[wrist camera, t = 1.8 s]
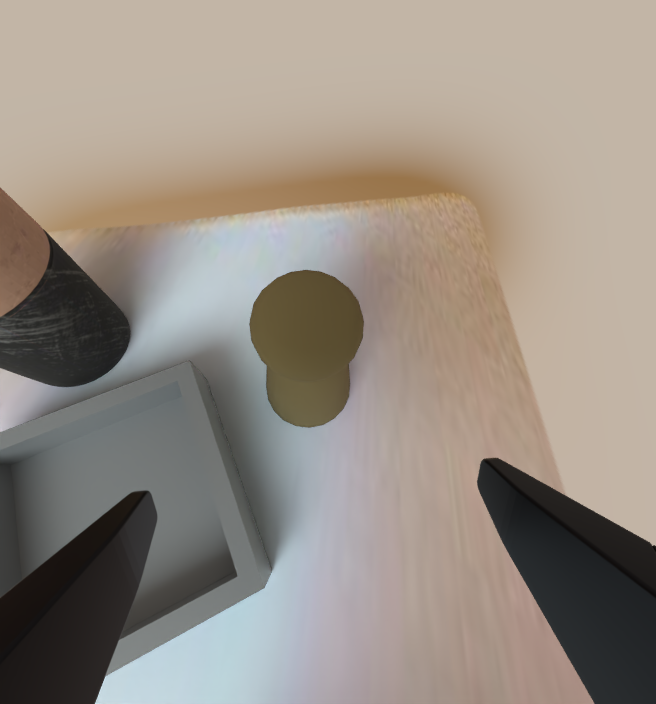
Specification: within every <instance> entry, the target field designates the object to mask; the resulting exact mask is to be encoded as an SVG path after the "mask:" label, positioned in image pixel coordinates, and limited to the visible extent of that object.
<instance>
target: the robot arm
mask: <svg viewBox="0 0 656 704" xmlns="http://www.w3.org/2000/svg"><path fill="white" fill-rule="evenodd" d="M477 485H478V489H479V492H480V494H481V496H482V498H483V501H484V503H485V505H486V507H487V509H488V512H489V514H490V516H491V518H492V520H493V523H494V525H495V527H496V529H497V531H498V534H499V536H500V538H501V540H502V542H503V544H504V546H505V548H506V549H507V551H508V553H509V555H510V557H511V558H512V560H513V562H514V564H515V565H516V567H517V569H518V571H519V572H520V574H521V576H522V578H523V579H524V581H525V583H526V585H527V586H528V588H529V590H530V592H531V593H532V595H533V597H534V599H535V600H536V602H537V604H538V606H539V607H540V609H541V611H542V613H543V614H544V616H545V618H546V619H547V621H548V623H549V625H550V626H551V628H552V630H553V632H554V633H555V635H556V637H557V639H558V640H559V642H560V644H561V646H562V647H563V649H564V651H565V653H566V654H567V656H568V658H569V660H570V661H571V663H572V665H573V667H574V668H575V670H576V672H577V674H578V675H579V677H580V679H581V681H582V682H583V684H584V686H585V688H586V689H587V691H588V693H589V695H590V696H591V698H592V700H593V702H594V703H595V704H656V546H655V545H654V546H652V545H651V543H650V542H648V541H646V540H644V539H643V538H641V537H639V536H637V535H635V534H633V533H632V532H630V531H628V530H626V529H625V528H623V527H621V526H619V525H617V524H615V523H614V522H612V521H610V520H608V519H607V518H605V517H603V516H601V515H599V514H598V513H595V512H594V511H592V510H590V509H588V508H587V507H585V506H583V505H581V504H580V503H578V502H576V501H574V500H572V499H571V498H569V497H567V496H565V495H564V494H562V493H560V492H558V491H556V490H555V489H553V488H551V487H549V486H547V485H546V484H544V483H542V482H540V481H538V480H537V479H535V478H533V477H531V476H529V475H528V474H526V473H524V472H522V471H520V470H519V469H517V468H515V467H513V466H511V465H510V464H508V463H506V462H504V461H502V460H501V459H499V458H486V459H483V460H482V461H481V464H480V469H479V475H478V480H477ZM156 524H157V511H156V507H155V504H154V501H153V498H152V494H151V492H150V491H148V490H143V491H134V492H131V493H130V494H128V495H127V496H126V497H125V498H123V499H122V500H121V501H120V502H118V503H117V504H116V505H115V506H113V507H112V508H111V509H110V510H108V511H107V512H106V513H105V514H103V515H102V516H101V517H100V518H98V519H97V520H96V521H95V522H93V523H92V524H91V525H90V526H88V527H87V528H86V529H85V530H83V531H82V532H81V533H80V534H79V535H77V536H76V537H75V538H74V539H72V540H71V541H70V542H69V543H67V544H66V545H65V546H64V547H62V548H61V549H60V550H59V551H57V552H56V553H55V554H54V555H52V556H51V557H50V558H49V559H47V560H46V561H45V562H44V563H42V564H41V565H40V566H39V567H38V568H36V569H35V570H34V571H33V572H31V573H30V574H29V575H28V576H26V577H25V578H24V579H23V580H21V581H20V582H19V583H18V584H16V585H15V586H14V587H13V588H11V589H10V590H9V591H8V592H6V593H5V594H4V595H3V596H1V597H0V704H95V702H96V699H97V697H98V694H99V691H100V689H101V686H102V683H103V681H104V678H105V676H106V673H107V670H108V668H109V665H110V662H111V660H112V657H113V655H114V652H115V649H116V647H117V644H118V641H119V639H120V636H121V634H122V631H123V628H124V626H125V623H126V620H127V618H128V615H129V612H130V610H131V607H132V605H133V602H134V599H135V597H136V594H137V591H138V588H139V585H140V582H141V579H142V575H143V572H144V568H145V564H146V561H147V557H148V553H149V550H150V546H151V542H152V539H153V535H154V531H155V528H156Z"/></svg>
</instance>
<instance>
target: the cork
mask: <svg viewBox="0 0 656 704" xmlns="http://www.w3.org/2000/svg"><path fill="white" fill-rule="evenodd" d="M249 325H250V332H251V340H252V343H253V345H254V347H255V349H256V351H257V353H258V355H259V356H260V358H261V360H262V361H263V362H264V363H265V364H266V365H267V381H266V388H267V395H268V400H269V402H270V404H271V406H272V408H273V410H274V411H275V412H276V413H277V414H278V415H279V416H280V417H281V418H282V419H283V420H284V421H287V422H289V423H291V424H293V425H295V426H301V427H315V426H320V425H324V424H325V423H327V422H329V421H331V420H332V419H334V418H335V417H336V416H337V415H338V414H339V413H340V412H341V411H342V410H343V408H344V406H345V404H346V402H347V399H348V397H349V387H350V379H349V362H350V361H351V360H352V359H353V358H354V357H355V354H356V352H357V350H358V348H359V346H360V343H361V341H362V338H363V325H364V321H363V316H362V312H361V309H360V305H359V302H358V300H357V299H356V297H355V296H354V295H353V293H352V292H351V290H350V289H349V288H348V287H347V286H345V285H344V284H343V283H341V282H340V281H339V280H338V279H336V278H335V277H333V276H330V275H328V274H325V273H323V272H319V271H310V270H302V271H295V272H290V273H287V274H285V275H283V276H280V277H278V278H276V279H275V280H274V281H273V282H272V283H270V284H269V285H268V286H267V287H266V288H264V289H263V290H262V291H261V293H260V295H259V296H258V298H257V299H256V301H255V302H254V305H253V309H252V314H251V318H250V324H249Z"/></svg>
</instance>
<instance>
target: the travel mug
mask: <svg viewBox="0 0 656 704" xmlns="http://www.w3.org/2000/svg"><path fill="white" fill-rule="evenodd" d="M129 337H130V329H129V324H128V321H127V319H126V317H125V315H124V314H123V313H122V311H121V310H120V309H119V308H118V307H117V306H116V304H115V303H114V302H113V301H112V300H111V299H110V298H109V297H108V296H107V295H106V294H105V293H104V292H103V291H102V290H101V289H100V288H99V287H98V286H97V284H96V283H95V282H94V281H93V280H92V279H91V278H90V277H89V276H88V275H87V274H86V273H85V272H84V271H83V270H82V269H81V268H80V267H79V266H78V265H77V264H76V263H75V262H74V261H73V259H72V258H71V257H70V256H69V255H68V254H67V253H66V252H65V251H64V250H63V249H62V248H61V247H60V246H59V245H58V244H57V243H56V242H55V241H54V240H53V239H52V238H51V237H50V235H49V234H48V233H47V232H46V231H45V230H44V229H42V228H41V227H40V225H39V224H38V223H37V222H36V221H34V219H33V218H31V217H30V216H29V215H28V214H27V213H26V212H25V211H24V210H23V209H22V208H21V207H20V206H19V205H18V204H17V203H16V202H15V201H14V200H13V199H12V198H11V197H10V196H8V195H7V193H5V192H4V191H3V190H2V189H1V188H0V368H2V369H5V370H8V371H10V372H13V373H16V374H19V375H22V376H24V377H27V378H30V379H33V380H36V381H39V382H42V383H45V384H48V385H52V386H58V387H73V386H79V385H83V384H86V383H89V382H91V381H94V380H96V379H97V378H99V377H101V376H103V375H104V374H106V373H107V372H108V371H109V370H111V369H112V368H113V367H114V366H115V365H116V364H117V363H118V361H119V360H120V359H121V357H122V356H123V354H124V353H125V350H126V348H127V346H128V342H129Z"/></svg>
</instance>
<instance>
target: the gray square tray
mask: <svg viewBox="0 0 656 704" xmlns="http://www.w3.org/2000/svg"><path fill="white" fill-rule="evenodd" d="M143 490H148V491H150V492H151V494H152V498H153V501H154V504H155V507H156V511H157V524H156V528H155V531H154V535H153V539H152V542H151V546H150V550H149V553H148V557H147V561H146V564H145V568H144V572H143V575H142V579H141V582H140V585H139V588H138V591H137V594H136V597H135V599H134V602H133V605H132V607H131V610H130V612H129V615H128V618H127V620H126V623H125V626H124V628H123V631H122V634H121V636H120V639H119V641H118V644H117V647H116V649H115V652H114V655H113V657H112V660H111V662H110V665H109V668H108V670H107V673H106V676H107V675H108V674H110V673H112V672H114V671H116V670H117V669H119V668H121V667H123V666H125V665H126V664H128V663H130V662H132V661H134V660H135V659H137V658H139V657H141V656H143V655H144V654H146V653H148V652H150V651H152V650H153V649H155V648H157V647H159V646H161V645H162V644H164V643H166V642H168V641H170V640H171V639H173V638H175V637H177V636H179V635H180V634H182V633H184V632H186V631H188V630H189V629H191V628H193V627H195V626H197V625H198V624H200V623H202V622H204V621H206V620H207V619H209V618H211V617H213V616H215V615H216V614H218V613H220V612H222V611H224V610H225V609H227V608H229V607H231V606H233V605H234V604H236V603H238V602H240V601H242V600H243V599H245V598H247V597H249V596H251V595H252V594H254V593H256V592H258V591H260V590H261V589H263V588H265V585H266V583H267V581H268V579H269V577H270V575H271V573H272V570H271V567H270V564H269V561H268V558H267V555H266V552H265V549H264V546H263V543H262V540H261V537H260V534H259V532H258V529H257V526H256V523H255V520H254V517H253V514H252V511H251V508H250V505H249V502H248V499H247V497H246V494H245V491H244V488H243V485H242V482H241V479H240V476H239V473H238V470H237V467H236V464H235V462H234V459H233V456H232V453H231V450H230V447H229V444H228V441H227V438H226V435H225V432H224V429H223V426H222V424H221V421H220V418H219V415H218V412H217V409H216V406H215V403H214V400H213V397H212V394H211V391H210V389H209V386H208V383H207V380H206V378H205V377H204V376H203V375H202V374H201V372H200V371H199V370H198V369H197V368H196V367H195V366H194V365H193V364H192V363H191V362H190V361H187V362H184V363H181V364H179V365H176V366H173V367H171V368H168V369H166V370H163V371H160V372H158V373H155V374H152V375H150V376H147V377H145V378H142V379H139V380H137V381H134V382H131V383H129V384H126V385H124V386H121V387H118V388H116V389H113V390H110V391H108V392H105V393H103V394H100V395H97V396H95V397H92V398H89V399H87V400H84V401H82V402H79V403H76V404H74V405H71V406H68V407H66V408H63V409H60V410H58V411H55V412H53V413H50V414H47V415H45V416H42V417H39V418H37V419H34V420H32V421H29V422H26V423H24V424H21V425H18V426H16V427H13V428H11V429H8V430H5V431H3V432H0V597H1V596H3V595H4V594H5V593H6V592H8V591H9V590H10V589H11V588H13V587H14V586H15V585H16V584H18V583H19V582H20V581H21V580H23V579H24V578H25V577H26V576H28V575H29V574H30V573H31V572H33V571H34V570H35V569H36V568H38V567H39V566H40V565H41V564H42V563H44V562H45V561H46V560H47V559H49V558H50V557H51V556H52V555H54V554H55V553H56V552H57V551H59V550H60V549H61V548H62V547H64V546H65V545H66V544H67V543H69V542H70V541H71V540H72V539H74V538H75V537H76V536H77V535H79V534H80V533H81V532H82V531H83V530H85V529H86V528H87V527H88V526H90V525H91V524H92V523H93V522H95V521H96V520H97V519H98V518H100V517H101V516H102V515H103V514H105V513H106V512H107V511H108V510H110V509H111V508H112V507H113V506H115V505H116V504H117V503H118V502H120V501H121V500H122V499H123V498H125V497H126V496H127V495H128V494H130V493H131V492H134V491H143Z"/></svg>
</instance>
